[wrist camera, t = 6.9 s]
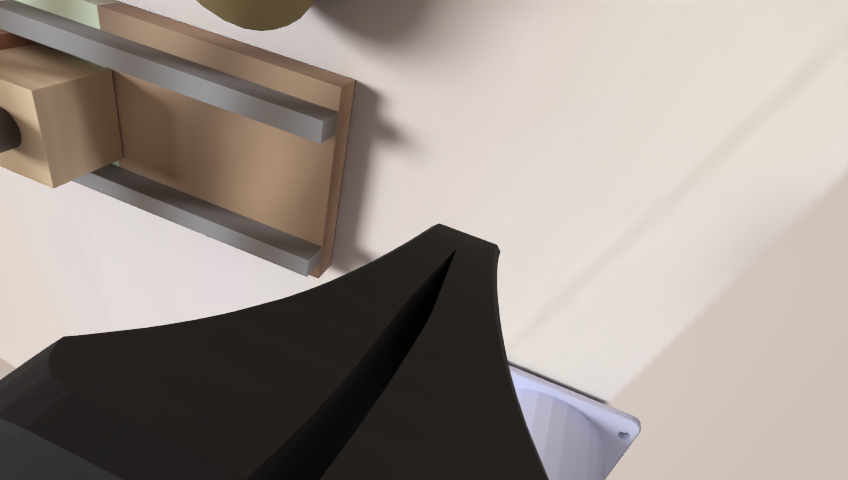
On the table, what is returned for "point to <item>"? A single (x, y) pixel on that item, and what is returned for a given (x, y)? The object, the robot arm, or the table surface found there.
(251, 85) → the track
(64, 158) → the slider
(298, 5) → the brown rounded lump
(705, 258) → the table surface
